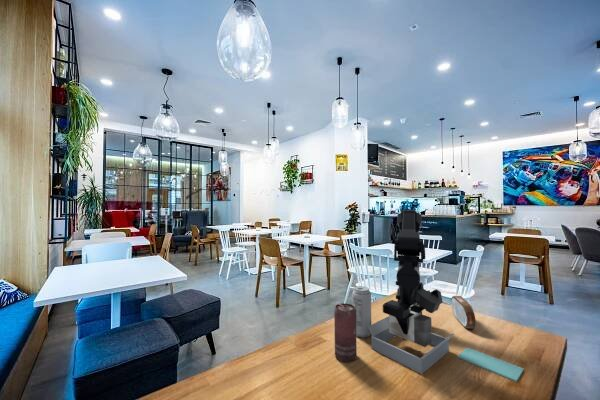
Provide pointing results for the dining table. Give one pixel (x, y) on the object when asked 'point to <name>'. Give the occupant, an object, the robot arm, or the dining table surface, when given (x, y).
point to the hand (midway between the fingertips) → (409, 331)
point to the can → (345, 332)
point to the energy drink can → (362, 310)
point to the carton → (418, 364)
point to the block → (414, 329)
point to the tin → (463, 312)
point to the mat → (491, 364)
